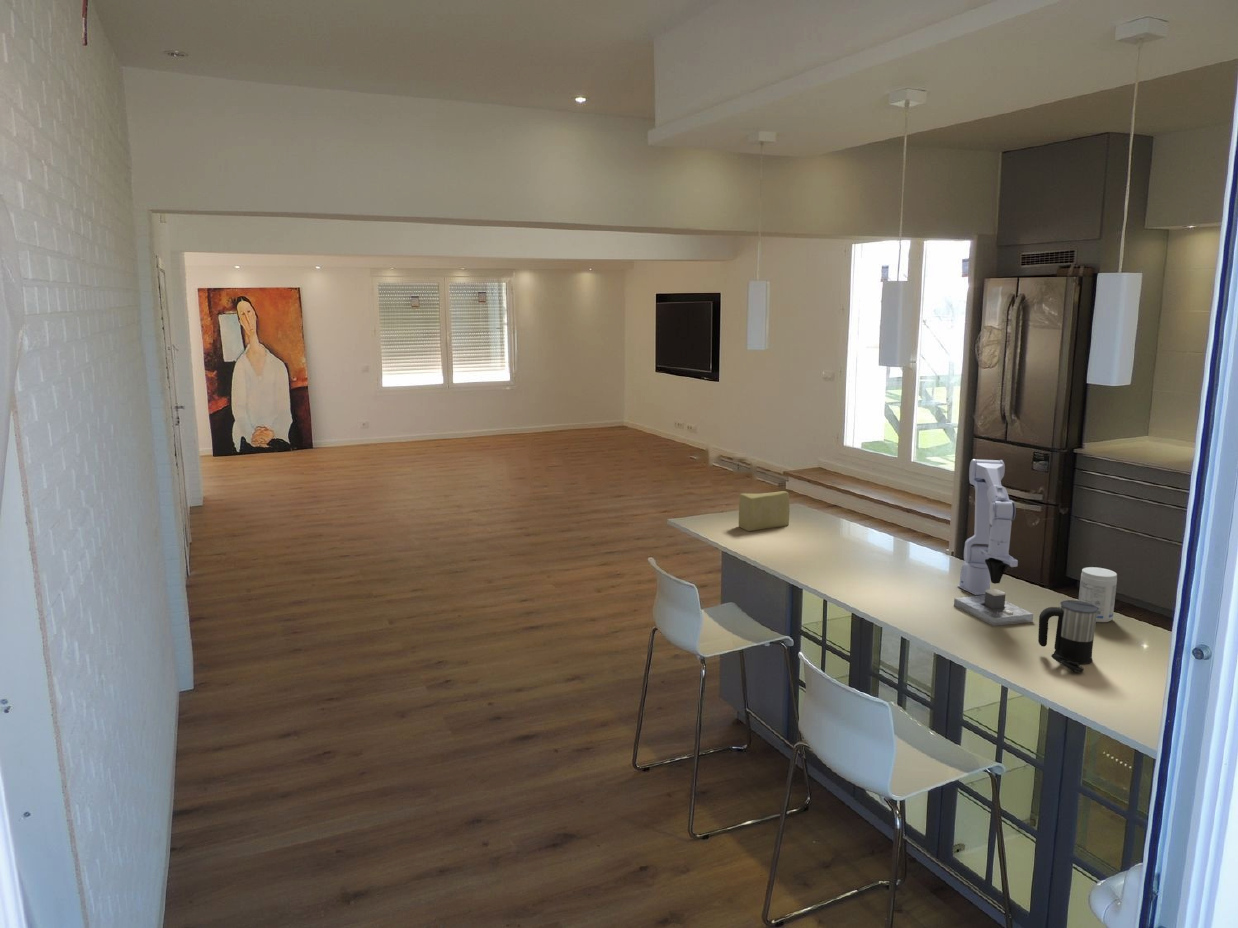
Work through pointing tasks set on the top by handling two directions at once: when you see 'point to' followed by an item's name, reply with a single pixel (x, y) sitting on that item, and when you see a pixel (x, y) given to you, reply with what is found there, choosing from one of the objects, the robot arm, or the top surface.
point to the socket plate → (993, 611)
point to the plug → (994, 599)
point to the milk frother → (1071, 632)
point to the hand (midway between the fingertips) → (995, 582)
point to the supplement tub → (1099, 591)
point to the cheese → (763, 510)
